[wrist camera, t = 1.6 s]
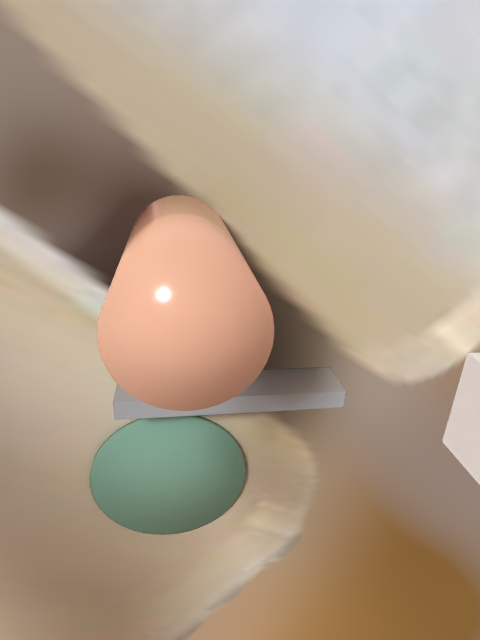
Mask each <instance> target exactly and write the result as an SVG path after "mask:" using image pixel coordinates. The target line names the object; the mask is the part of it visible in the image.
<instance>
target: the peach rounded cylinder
mask: <svg viewBox="0 0 480 640" xmlns="http://www.w3.org/2000/svg"><path fill="white" fill-rule="evenodd" d="M273 340H274V320H273V314H272V311H271V307H270V304H269V302H268V300H267V298H266V296H265V294H264V292H263V291H262V289H261V287H260V285H259V283H258V282H257V280H256V278H255V276H254V275H253V273H252V271H251V269H250V268H249V266H248V264H247V262H246V261H245V259H244V257H243V256H242V254H241V252H240V250H239V249H238V247H237V245H236V243H235V242H234V240H233V238H232V236H231V235H230V233H229V231H228V229H227V228H226V226H225V224H224V222H223V221H222V219H221V217H220V216H219V215H218V213H217V212H216V211H215V210H214V209H213V208H212V207H211V206H209V205H208V204H206V203H205V202H203V201H201V200H199V199H196V198H194V197H190V196H183V195H174V196H168V197H164V198H161V199H159V200H157V201H155V202H153V203H152V204H150V205H149V206H148V207H147V208H145V209H144V210H143V212H142V213H141V214H140V215H139V217H138V219H137V221H136V222H135V225H134V227H133V230H132V232H131V235H130V237H129V240H128V242H127V245H126V247H125V250H124V253H123V255H122V258H121V260H120V263H119V265H118V268H117V271H116V273H115V276H114V278H113V281H112V283H111V286H110V288H109V291H108V293H107V296H106V298H105V301H104V304H103V306H102V309H101V312H100V316H99V319H98V328H97V341H98V346H99V352H100V355H101V358H102V360H103V363H104V365H105V367H106V369H107V371H108V372H109V373H110V375H111V376H112V378H113V379H114V380H115V381H116V382H117V383H118V385H119V386H120V387H121V388H123V389H124V390H125V391H126V392H127V393H129V394H130V395H132V396H133V397H135V398H136V399H138V400H140V401H142V402H144V403H146V404H149V405H152V406H155V407H158V408H162V409H167V410H175V411H193V410H201V409H206V408H210V407H213V406H216V405H219V404H222V403H224V402H226V401H228V400H230V399H232V398H234V397H235V396H237V395H238V394H240V393H241V392H242V391H244V390H245V389H246V388H247V387H248V386H249V385H250V384H252V383H253V382H254V380H255V379H256V378H257V377H258V376H259V374H260V373H261V371H262V370H263V368H264V366H265V365H266V363H267V361H268V358H269V356H270V353H271V349H272V346H273Z"/></svg>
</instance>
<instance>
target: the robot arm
mask: <svg viewBox="0 0 480 640" xmlns="http://www.w3.org/2000/svg"><path fill="white" fill-rule="evenodd" d="M442 442H443V443H444V444H445V445H446V446H447V448H448V449H449V450H450V451H451V452H452V454H454V456H455V457H456V458H457V459H458V460H459V462H460V463H461V464H462V465H463V466H464V467H465V468H466V470H467V471H468V472H469V473H470V474H471V476H472V477H473V478H474V479H475V480H476V481H477V482H478V484H479V485H480V353H468V354H467V357H466V361H465V364H464V368H463V371H462V375H461V378H460V382H459V385H458V389H457V392H456V396H455V399H454V403H453V406H452V410H451V413H450V416H449V420H448V423H447V427H446V430H445V434H444V437H443V441H442Z"/></svg>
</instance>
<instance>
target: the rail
mask: <svg viewBox="0 0 480 640" xmlns="http://www.w3.org/2000/svg"><path fill="white" fill-rule="evenodd" d="M345 396H346V390H345V389H344V387H343V386H342V384H341V383H340V381H339V380H338V378H337V377H336V375H335V374H334V372H333V371H332V370H331V368H330V367H320V368H319V367H318V368H292V369H267V370H262V371H261V373H260V374H259V376H258V377H257V378H256V379H255V380H254V382H253V383H252V384H250V385H249V386H248V387H247V388H246V389H245V390H244V391H242V392H241V393H240V394H238V395H237V396H235V397H234V398H232V399H230V400H228V401H226V402H224V403H222V404H219V405H216V406H213V407H210V408H206V409H201V410H193V411H175V410H167V409H162V408H158V407H155V406H152V405H149V404H146V403H144V402H142V401H140V400H138V399H136V398H135V397H133V396H132V395H130V394H129V393H127V392H126V391H125V390H124V389H123V388H121V387H120V386H119V385H118V383H117V387H116V391H115V396H114V401H113V407H114V418H115V420H123V419H141V418H159V417H178V416H196V415H214V414H233V413H251V412H269V411H287V410H306V409H323V408H342V407H344V401H345Z"/></svg>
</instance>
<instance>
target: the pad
mask: <svg viewBox="0 0 480 640" xmlns="http://www.w3.org/2000/svg"><path fill="white" fill-rule="evenodd" d="M245 474H246V471H245V462H244V457H243V454H242V451H241V448H240V446H239V445H238V443H237V441H236V440H235V439H234V438H233V436H232V435H231V434H230V433H229V432H227V431H226V430H225V429H224V428H222V427H221V426H220V425H218V424H216V423H214V422H212V421H210V420H208V419H205V418H202V417H199V416H178V417H159V418H141V419H138V420H135V421H133V422H131V423H129V424H127V425H125V426H123V427H122V428H120V429H119V430H117V431H116V432H115V433H113V434H112V435H111V436H110V437H109V438H108V439H107V440H106V441H105V442H104V443H103V445H102V446H101V447H100V449H99V450H98V452H97V454H96V456H95V458H94V461H93V464H92V468H91V474H90V487H91V491H92V495H93V497H94V499H95V501H96V503H97V505H98V506H99V508H100V509H101V510H102V511H103V512H104V513H105V514H106V515H107V516H108V517H109V518H110V519H112V520H113V521H115V522H116V523H118V524H120V525H122V526H124V527H126V528H128V529H131V530H134V531H138V532H142V533H148V534H160V535H165V534H176V533H182V532H187V531H191V530H194V529H197V528H200V527H202V526H204V525H206V524H208V523H210V522H212V521H214V520H215V519H217V518H218V517H219V516H221V515H222V514H223V513H225V512H226V511H227V510H228V509H229V508H230V507H231V506H232V504H233V503H234V502H235V501H236V499H237V498H238V496H239V494H240V492H241V490H242V488H243V484H244V481H245Z"/></svg>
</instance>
